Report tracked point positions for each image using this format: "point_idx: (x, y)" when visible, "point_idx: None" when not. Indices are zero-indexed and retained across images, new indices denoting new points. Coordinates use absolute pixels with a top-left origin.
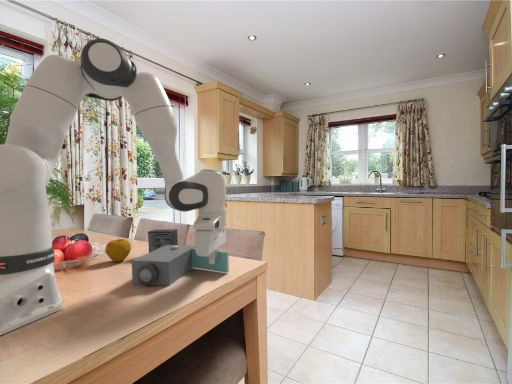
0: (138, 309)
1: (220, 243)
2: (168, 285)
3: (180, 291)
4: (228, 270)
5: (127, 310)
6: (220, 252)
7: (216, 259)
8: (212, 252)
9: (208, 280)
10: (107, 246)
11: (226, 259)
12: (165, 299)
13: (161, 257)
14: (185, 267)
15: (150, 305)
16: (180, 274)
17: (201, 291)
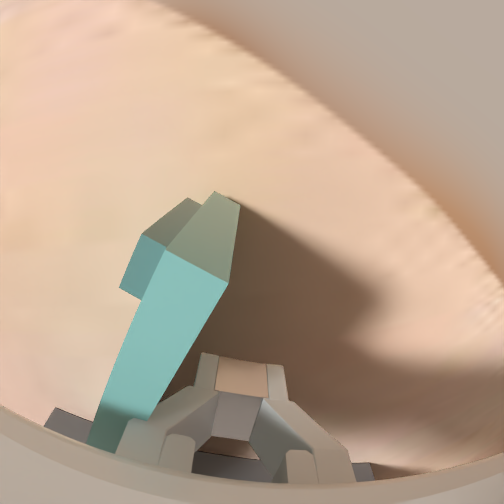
0: (497, 441)
1: (56, 487)
2: (367, 465)
3: (448, 408)
4: (217, 195)
5: (488, 456)
6: (170, 381)
7: (202, 366)
8: (498, 457)
9: (359, 330)
10: None
11: (231, 243)
12: (483, 419)
13: None
14: None
15: (494, 431)
16: (267, 472)
17: (488, 328)
